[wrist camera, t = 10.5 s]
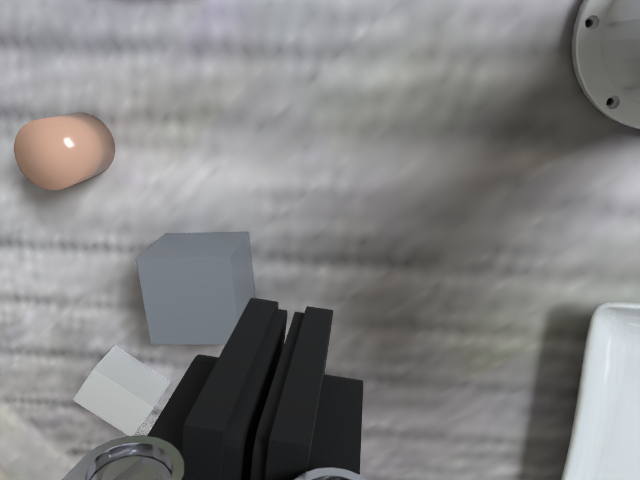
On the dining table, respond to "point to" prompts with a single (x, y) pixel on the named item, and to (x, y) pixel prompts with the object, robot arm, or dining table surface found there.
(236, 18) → the dining table surface
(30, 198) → the dining table surface
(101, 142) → the terracotta cylinder
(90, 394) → the pale grey block
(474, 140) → the dining table surface
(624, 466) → the square plate
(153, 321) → the slate block
